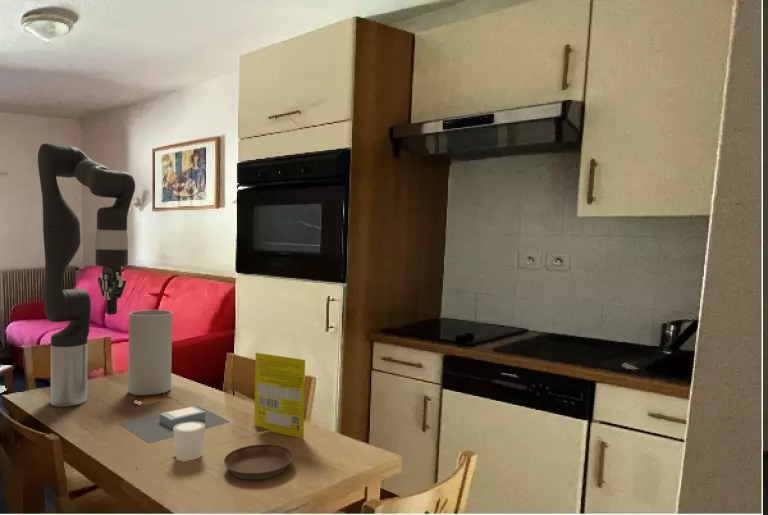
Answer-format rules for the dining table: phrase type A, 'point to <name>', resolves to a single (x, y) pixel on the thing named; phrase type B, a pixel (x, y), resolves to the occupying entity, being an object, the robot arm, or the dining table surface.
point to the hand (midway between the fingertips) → (111, 314)
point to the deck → (182, 416)
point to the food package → (279, 394)
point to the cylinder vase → (150, 352)
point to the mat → (164, 426)
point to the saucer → (258, 461)
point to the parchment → (152, 398)
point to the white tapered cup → (188, 440)
